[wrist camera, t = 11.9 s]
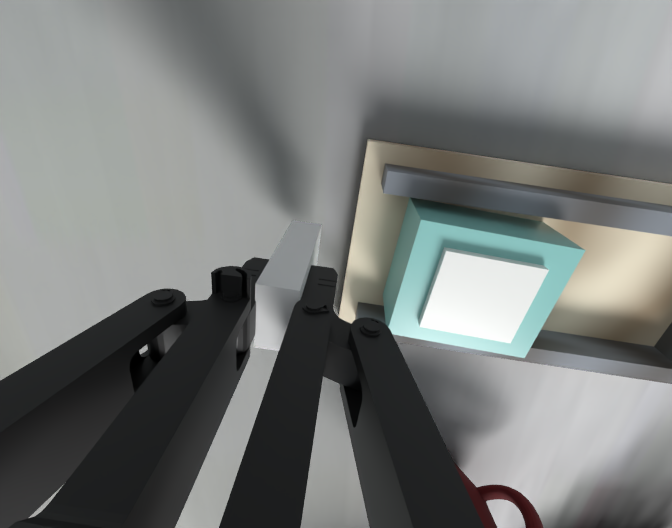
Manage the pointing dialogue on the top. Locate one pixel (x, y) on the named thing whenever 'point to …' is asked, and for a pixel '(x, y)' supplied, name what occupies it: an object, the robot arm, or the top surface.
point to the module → (475, 277)
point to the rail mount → (560, 214)
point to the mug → (499, 492)
